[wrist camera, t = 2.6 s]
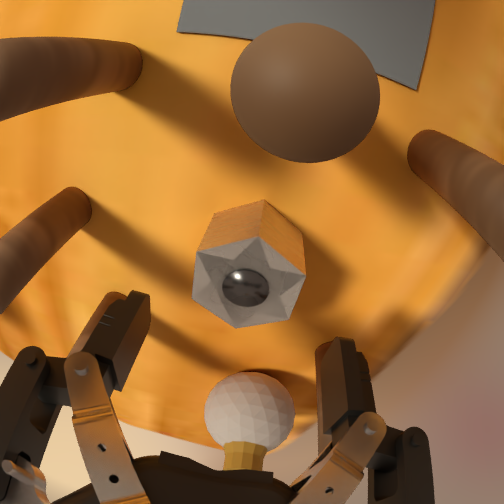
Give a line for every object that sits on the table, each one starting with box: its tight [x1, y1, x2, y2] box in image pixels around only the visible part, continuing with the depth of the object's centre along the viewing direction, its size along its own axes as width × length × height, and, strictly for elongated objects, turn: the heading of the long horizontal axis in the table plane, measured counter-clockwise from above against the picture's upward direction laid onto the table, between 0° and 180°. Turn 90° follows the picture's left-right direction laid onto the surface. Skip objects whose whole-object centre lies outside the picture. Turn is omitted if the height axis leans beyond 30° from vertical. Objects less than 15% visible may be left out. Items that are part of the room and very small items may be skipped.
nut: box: [192, 200, 306, 328], centre depth 16 cm, size 6×5×4 cm
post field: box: [0, 23, 504, 456], centre depth 13 cm, size 20×23×9 cm
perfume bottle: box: [204, 372, 295, 471], centre depth 20 cm, size 8×10×12 cm
